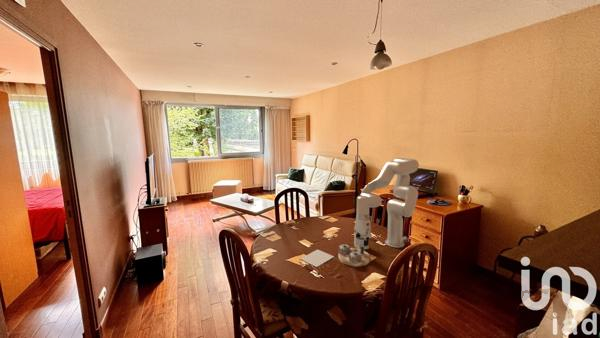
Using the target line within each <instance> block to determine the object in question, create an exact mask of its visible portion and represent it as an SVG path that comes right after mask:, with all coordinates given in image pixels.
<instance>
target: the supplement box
mask: <svg viewBox="0 0 600 338" xmlns="http://www.w3.org/2000/svg"><path fill="white" fill-rule="evenodd" d="M353 230H354V229H353ZM353 233H354V234H353V235H354V237H353V240H354V241H353V246H354V248H356V249H361V247H360V246H358V245H356V235H355V230H354V232H353ZM366 235H367V234H366ZM360 236H361V237H364V235H362V234H360ZM366 238H367V236H366ZM369 247H370V244H369V245H368V246H366V247H364V250H369Z"/></svg>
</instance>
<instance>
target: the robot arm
mask: <svg viewBox="0 0 600 338" xmlns="http://www.w3.org/2000/svg"><path fill="white" fill-rule="evenodd" d="M419 166H420V164H419V162H418V160H417V159H415V158H405V157H396V158H394V159H393V160H390V161H389V160H388V161H386V162H385V164H384V165H383V167H382V169H381V170H380V172H379V174H378V175H377V177H376V178H375V179H374V180H371V182H368V183H367V184H366V185H365V186H364V188H363V189H362V191H361V193H360V194H359V195H358V196H357V197H356V215H355V216H356V217H355V221H354V223H355V224H354V226H353V230H355V235H356V238H357V237H360V234H362V235H364V238H365V240H364V246H368V245H369V246H370V239H371V238H372V237H373V235H372V230H371V229H372V227H371V225H372V224H371V220H370V219H371V218H370V208H378V207H380V206H381V205H382V202H383V200H382V198H381V196H379V195H377V194H373V192H374V191H375V190H378V189H382V188H385V187H388V186H390V184H391V182H392V180H393V178H394V177H395V175H396V179H395V182H394V187H393V190H392V195H393V197H395V198H392V199H390V200H388V201H387V203H386V211H387V239H385V240H384V244H385V245H387V246H388V247H392V248H396V249H397V248H404V246H405V242H404V241H405V240H407V239H408V237H407V236H403V230H404V228H403V226H404V218H403V217H405V218H410V217H412V216H413V214H414V211H415V209H416V204H417V201H418V198H419V191H418V188H417V187H415V186H411V185H410V181H411V177H410V174H413V173H415V172H417V171H418V169H419ZM396 198H398V199H396ZM400 199H403V200H400ZM366 234H367V235H366ZM366 236H367V238H366Z"/></svg>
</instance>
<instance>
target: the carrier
mask: <svg viewBox="0 0 600 338" xmlns="http://www.w3.org/2000/svg"><path fill="white" fill-rule="evenodd" d="M338 260H339V261H340V262H341V263H342V264H344V265H346V266H350V267H355V268H358V267H364V266H366V265H368V264H370V262H371V255H370V254H369V253H368V252H367V251H366V250H365V249H364V247H361V249H357V248H356V247H351V246H350V245H348V244H339V246H338Z"/></svg>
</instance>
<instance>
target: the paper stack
mask: <svg viewBox="0 0 600 338" xmlns="http://www.w3.org/2000/svg"><path fill="white" fill-rule="evenodd" d="M333 258H335V256H334V255H332V254H329V253H327V252H325V251H322V250H320V249H315V250H314V251H312V252H310V253H308V254H306V255H304V256H302V257H301V258H300V260H302V261H304V262H306V263H308V264H310V265H311V266H314V267H316V268H318V267H320V266H321V265H323V264H324V263H326V262H327V261H329V260H331V259H333Z"/></svg>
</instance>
